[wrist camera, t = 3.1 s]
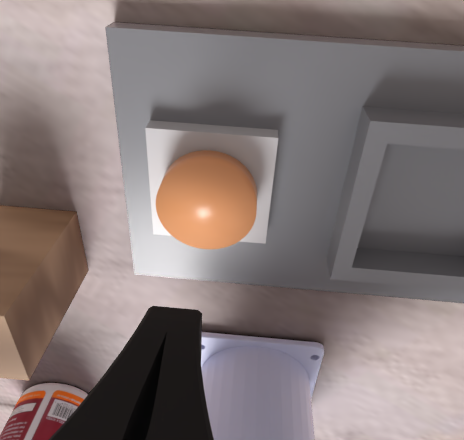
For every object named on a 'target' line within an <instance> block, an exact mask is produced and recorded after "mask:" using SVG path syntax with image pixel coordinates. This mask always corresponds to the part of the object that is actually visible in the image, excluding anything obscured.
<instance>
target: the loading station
mask: <svg viewBox="0 0 464 440" xmlns="http://www.w3.org/2000/svg"><path fill="white" fill-rule="evenodd" d="M105 28H106V36H107V45H108V53H109V62H110V70H111V79H112V87H113V96H114V104H115V113H116V122H117V130H118V139H119V147H120V156H121V164H122V173H123V181H124V190H125V198H126V207H127V215H128V224H129V232H130V241H131V250H132V258H133V267H134V274H135V275H146V276H158V277H169V278H181V279H192V280H204V281H215V282H227V283H238V284H250V285H261V286H273V287H284V288H295V289H307V290H318V291H330V292H341V293H353V294H364V295H376V296H387V297H399V298H410V299H422V300H433V301H445V302H456V303H464V46H459V45H444V44H430V43H415V42H400V41H385V40H370V39H356V38H341V37H326V36H311V35H296V34H282V33H267V32H252V31H237V30H222V29H208V28H193V27H178V26H163V25H148V24H134V23H119V22H113V23H112V24H110V25H108V26H106V27H105ZM201 150H211V151H218V152H222V153H225V154H227V155H230V156H232V157H234V158H235V159H237V160H238V161H240V162H241V163H242V164H243V165H244V166H245V167H246V168H247V169H248V170H249V172H250V173H251V175H252V176H253V178H254V181H255V184H256V187H257V212H256V219H255V222H254V225H253V227H252V228H251V230H250V231H249V233H248V234H247V235H246V236H245V237H244V238H243V239H241V240H240V241H239V242H237V243H235V244H233V245H231V246H228V247H225V248H220V249H200V248H195V247H192V246H189V245H186V244H184V243H182V242H180V241H179V240H177V239H176V238H174V237H173V236H172V235H171V234H170V233H169V232H168V231H167V230H166V229H165V228H164V227H163V225H162V223H161V222H160V220H159V218H158V215H157V211H156V195H157V192H158V189H159V187H160V185H161V182H162V180H163V178H164V175H165V173H166V171H167V170H168V168H169V167H170V166H171V164H172V163H173V162H174V161H176V160H177V159H178V158H180V157H182V156H183V155H185V154H188V153H191V152H195V151H201Z"/></svg>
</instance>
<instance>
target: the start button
mask: <svg viewBox="0 0 464 440" xmlns="http://www.w3.org/2000/svg"><path fill="white" fill-rule="evenodd" d="M156 211H157V215H158V218H159V220H160V222H161V223H162V225H163V227H164V228H165V229H166V230H167V231H168V232H169V233H170V234H171V235H172V236H173V237H174V238H176V239H177V240H179V241H180V242H182V243H184V244H186V245H189V246H192V247H195V248H200V249H220V248H225V247H228V246H231V245H233V244H235V243H237V242H239V241H240V240H241V239H243V238H244V237H245V236H246V235H247V234H248V233H249V231H250V230H251V228H252V227H253V225H254V222H255V219H256V212H257V187H256V184H255V181H254V178H253V176H252V175H251V173H250V172H249V170H248V169H247V168H246V167H245V166H244V165H243V164H242V163H241V162H240V161H238V160H237V159H235V158H234V157H232V156H230V155H227V154H225V153H222V152H218V151H211V150H201V151H195V152H191V153H188V154H185V155H183V156H182V157H180V158H178V159H177V160H176V161H174V162H173V163H172V164H171V166H170V167H169V168H168V170H167V171H166V173H165V175H164V178H163V180H162V182H161V185H160V187H159V189H158V192H157V195H156Z"/></svg>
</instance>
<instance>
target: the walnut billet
mask: <svg viewBox="0 0 464 440" xmlns="http://www.w3.org/2000/svg"><path fill="white" fill-rule="evenodd" d="M87 272H88V266H87V261H86V256H85V251H84V246H83V241H82V236H81V231H80V226H79V222H78V217H77V212H75V211H63V210H51V209H39V208H27V207H15V206H2V205H0V378H7V379H18V380H28V381H29V380H30V378H31V377H32V375H33V373H34V371H35V369H36V367H37V365H38V364H39V362H40V360H41V358H42V356H43V354H44V352H45V350H46V349H47V347H48V345H49V343H50V341H51V339H52V337H53V336H54V334H55V332H56V330H57V328H58V326H59V324H60V322H61V321H62V319H63V317H64V315H65V313H66V311H67V309H68V308H69V306H70V304H71V302H72V300H73V298H74V296H75V294H76V293H77V291H78V289H79V287H80V285H81V283H82V281H83V280H84V278H85V276H86V274H87Z"/></svg>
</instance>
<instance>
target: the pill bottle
mask: <svg viewBox="0 0 464 440" xmlns="http://www.w3.org/2000/svg"><path fill="white" fill-rule="evenodd" d="M87 395H88V394H87V393H86V392H84V391H82V390H80V389H78V388H76V387H73V386H70V385H66V384H59V383H43V384H38V385H35V386H32V387H30V388H28V389H27V390H26V391H25V392H24V393H23V394H22V395H21V397H20V399H19V400H18V402H17V404H16V406H15V408H14V410H13V412H12V414H11V416H10V417H9V419H8V421H7V423H6V425H5V427H4V429H3V431H2V433H1V435H0V440H49V439H50V438H51V436H52V435H53V434H54V433H55V432H56V431H57V430H58V429H59V428H60V427H61V426H62V425H63V423H64V422H65V421H66V420H67V419H68V418H69V417H70V416H71V414H72V413H73V412H74V411H75V410H76V409H77V408H78V406H79V405H80V404H81V403H82V402H83V400H84V399H85V398H86V397H87Z"/></svg>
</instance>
